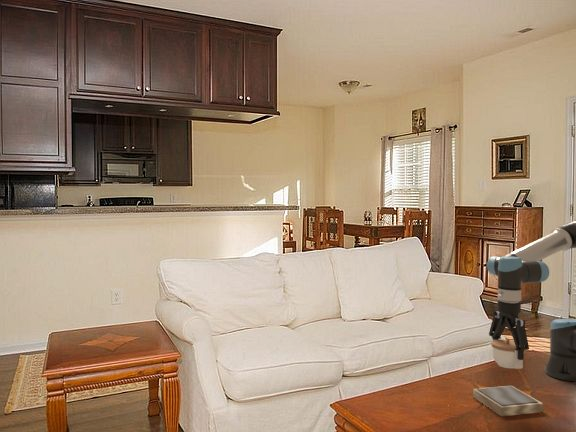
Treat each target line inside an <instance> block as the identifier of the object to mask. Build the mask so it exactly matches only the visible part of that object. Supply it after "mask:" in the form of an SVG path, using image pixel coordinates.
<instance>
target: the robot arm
mask: <svg viewBox="0 0 576 432" xmlns="http://www.w3.org/2000/svg"><path fill="white" fill-rule="evenodd" d="M570 249H576V220H573V221H570V222H567V223H565V224H562V225H560V226H558V227H556V228H554V229H551V231H550V233H549V234H547V235H545V236H543V237H540V238H539V239H537V240H535V241H532V242H530V243H528V244H525V245H524V246H522V247H520V248H518V249H516V250H514V251H512V252H509V253H507V254H505V255H503V256H499V255H493V256H491V257H490V258H489V259H488V261H487V263H486V268H487V271H488V273H489V274H490V275H492V276H496V277H497V299H498V300H497V306H496V310H497V311H492V312H493V314H492V316H493V317H492V321H491V324H490V329H489V332H488V335H489V337H491V339H492V341H493V340H502V335H503V333H504V331H505V329H506V328H507V329H508V331H509V332H510V334H511V337H512V339H513V341H514V342H515V345H516V348H517V349H515V360H514V368H513V369H515V370H521V369H523V368H524V358H525V357H524V356H525V351H528V350H530V346H529V341H528V336H527V331H526V320H525V319H520V318H519V314H520V313H521V311H522V303H521V301H522V285H523V284H531V283H537V284H538V283H543V282H545V281H547V280H548V278H549V276H550V269H549V266H548V264H546V263H545V262H544V261H542V260H545V259H546V258H548V257H550V256H552V255H555V254H556V253H558V252H561V251H568V250H570ZM549 329H550V331H549V332H550V334H549V335H550V337H549V338H550V340H549V343H550V345H549V346H550V347H549V349H550V350H549V356H548V359H547V362H546V364H545V366H544V372H545V374H546V375H548V376H550V377H552V378H555V379H558V380H562V381H568V382H576V318H556V319H554V320H552V321H551V322H550V328H549ZM519 345H520V346H519Z"/></svg>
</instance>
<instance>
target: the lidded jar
mask: <svg viewBox="0 0 576 432" xmlns="http://www.w3.org/2000/svg"><path fill="white" fill-rule="evenodd" d="M490 345H491V355H492V358H493V360H494V361H495V363H497V366H498V367H501V368H504V369H515V368H514V360H515V349H517V348H516V345H515V342H514V340H512V339H511V340H510V339H509V338H506V339H500V340H493V339H492V341H491V342H490ZM519 346H520V345H519Z"/></svg>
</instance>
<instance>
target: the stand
mask: <svg viewBox="0 0 576 432" xmlns="http://www.w3.org/2000/svg"><path fill="white" fill-rule="evenodd" d="M472 398H474V399H475V400H476V401H479V402H480V403H481V404H482V403H483V405H484V406H485V405H486V407H487V408H488V407H489V408H488V409H490V410H491V409H492V410H491V411H492V412H495V413H496V414H497V415H499V416H500V417H508V416H518V415H525V414H526V415H527V414H536V413H543V408H544V405H543V404H544V403H543V402H542V401H539V400H537V399H536V398H534V397H532V396H531V395H529V394H527V393H525V392H524V391H522V390H520V389H518V388H516V387H515V386H513V385H503V386H492V387H491V386H490V387H489V386H488V387H481V388H473V389H472Z"/></svg>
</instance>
